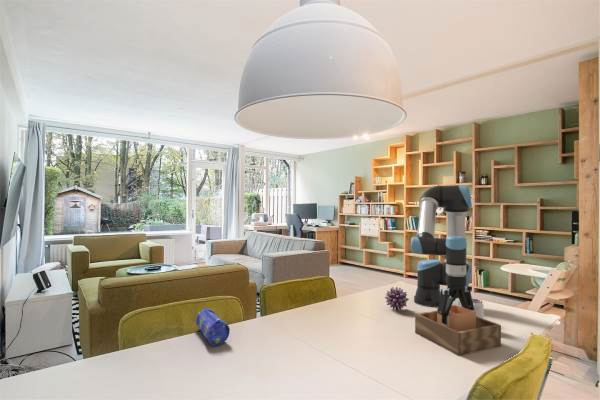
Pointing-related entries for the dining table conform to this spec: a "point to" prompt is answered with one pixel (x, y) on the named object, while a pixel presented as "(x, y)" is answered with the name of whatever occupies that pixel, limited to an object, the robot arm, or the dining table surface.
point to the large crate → (458, 334)
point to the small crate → (459, 318)
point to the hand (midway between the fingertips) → (456, 329)
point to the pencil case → (212, 327)
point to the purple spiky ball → (396, 298)
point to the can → (478, 308)
